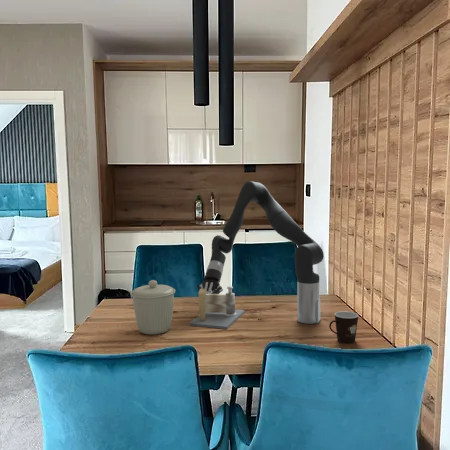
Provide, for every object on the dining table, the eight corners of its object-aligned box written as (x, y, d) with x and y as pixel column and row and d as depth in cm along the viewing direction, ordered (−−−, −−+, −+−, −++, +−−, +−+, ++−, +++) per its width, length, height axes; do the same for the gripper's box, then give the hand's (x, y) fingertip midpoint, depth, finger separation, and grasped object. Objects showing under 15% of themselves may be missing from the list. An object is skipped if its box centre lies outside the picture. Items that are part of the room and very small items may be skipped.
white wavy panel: (235, 311, 202) (235, 292, 201) (234, 314, 198) (233, 295, 197) (203, 310, 205) (202, 291, 204) (201, 313, 201) (200, 294, 200)
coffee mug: (353, 336, 173) (354, 310, 172) (361, 344, 164) (361, 317, 163) (323, 337, 173) (324, 311, 172) (329, 345, 164) (330, 318, 163)
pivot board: (244, 312, 207) (244, 283, 205) (227, 329, 184) (226, 296, 183) (210, 309, 213) (209, 281, 211) (189, 325, 190) (188, 293, 189)
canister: (173, 338, 175) (171, 285, 173) (127, 338, 176) (125, 286, 174) (179, 323, 193) (177, 275, 191) (137, 323, 194) (135, 275, 192)
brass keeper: (206, 323, 192) (205, 293, 191) (199, 323, 193) (198, 293, 191) (207, 317, 201) (206, 288, 199) (200, 317, 201) (199, 288, 199)
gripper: (199, 267, 213) (189, 299, 203) (225, 268, 209) (216, 301, 199) (203, 275, 219) (194, 307, 209) (229, 277, 214) (220, 309, 204)
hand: (205, 304), depth 204 cm, fingers closed
